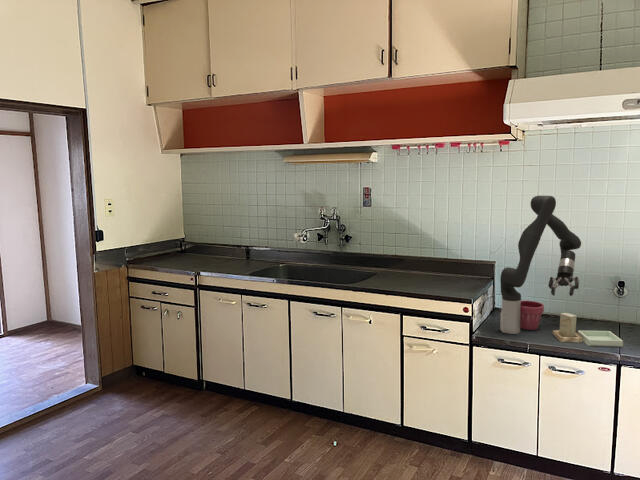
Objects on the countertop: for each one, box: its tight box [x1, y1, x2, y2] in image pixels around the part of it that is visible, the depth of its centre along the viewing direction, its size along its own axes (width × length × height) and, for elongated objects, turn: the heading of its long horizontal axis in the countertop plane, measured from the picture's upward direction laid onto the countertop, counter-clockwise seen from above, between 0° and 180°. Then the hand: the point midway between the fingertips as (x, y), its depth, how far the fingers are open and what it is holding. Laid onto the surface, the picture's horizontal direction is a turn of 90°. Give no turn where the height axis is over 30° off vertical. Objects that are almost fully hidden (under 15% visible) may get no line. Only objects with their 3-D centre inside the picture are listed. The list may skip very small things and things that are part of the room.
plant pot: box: [520, 300, 545, 331], centre depth 274 cm, size 14×14×13 cm
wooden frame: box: [552, 329, 583, 343], centre depth 256 cm, size 10×12×2 cm
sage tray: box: [577, 330, 624, 348], centre depth 251 cm, size 15×15×3 cm
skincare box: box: [558, 312, 577, 337], centre depth 256 cm, size 6×4×12 cm
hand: (561, 295), depth 268 cm, fingers open, 8 cm apart
